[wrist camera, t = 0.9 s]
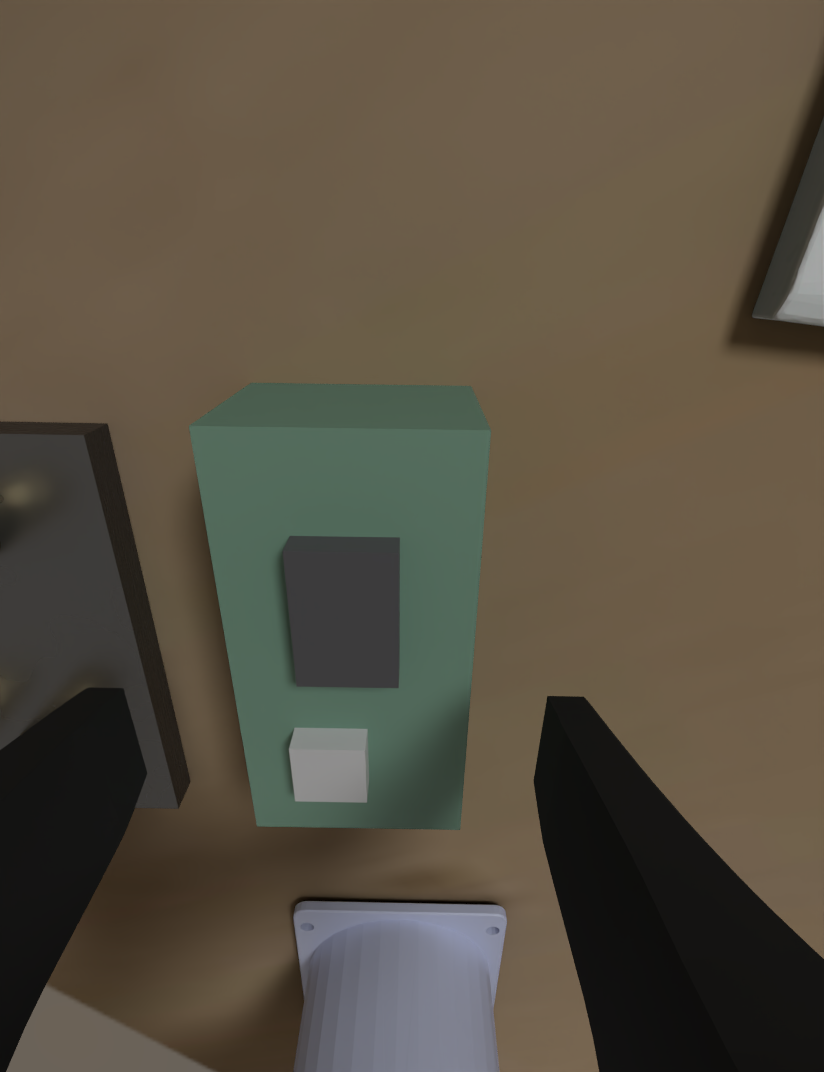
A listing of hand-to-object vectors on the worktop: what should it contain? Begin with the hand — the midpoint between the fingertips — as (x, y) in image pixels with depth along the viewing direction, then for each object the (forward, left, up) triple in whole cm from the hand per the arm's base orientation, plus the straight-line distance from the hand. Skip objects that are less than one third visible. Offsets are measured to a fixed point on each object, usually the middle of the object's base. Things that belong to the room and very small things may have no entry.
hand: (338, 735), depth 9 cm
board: (0, 0, -6) cm, 6 cm away
